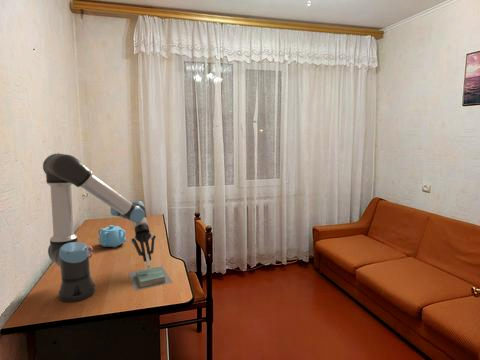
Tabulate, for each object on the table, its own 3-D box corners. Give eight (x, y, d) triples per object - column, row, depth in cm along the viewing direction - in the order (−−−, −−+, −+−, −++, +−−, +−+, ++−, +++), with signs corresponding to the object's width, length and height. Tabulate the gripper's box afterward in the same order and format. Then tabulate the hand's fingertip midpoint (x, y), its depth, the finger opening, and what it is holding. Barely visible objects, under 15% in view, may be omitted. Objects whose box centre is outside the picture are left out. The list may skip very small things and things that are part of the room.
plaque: (158, 270, 170) (165, 281, 158) (135, 275, 164) (140, 286, 152) (158, 266, 170) (165, 277, 157) (135, 271, 164) (140, 282, 152)
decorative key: (59, 263, 189) (94, 255, 193) (58, 264, 188) (94, 256, 192) (56, 253, 187) (91, 245, 192) (55, 254, 186) (91, 245, 191)
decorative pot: (100, 251, 201) (99, 230, 199) (98, 243, 215) (96, 224, 213) (127, 246, 209) (126, 226, 207) (123, 239, 223) (122, 221, 221)
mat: (172, 283, 157) (172, 282, 157) (135, 291, 149) (135, 290, 148) (162, 267, 176) (162, 266, 176) (128, 273, 168) (128, 272, 168)
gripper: (152, 228, 181) (160, 267, 168) (128, 231, 175) (135, 271, 162) (154, 222, 175) (162, 261, 163) (129, 225, 169) (136, 265, 157)
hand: (148, 266), depth 163 cm, fingers closed
